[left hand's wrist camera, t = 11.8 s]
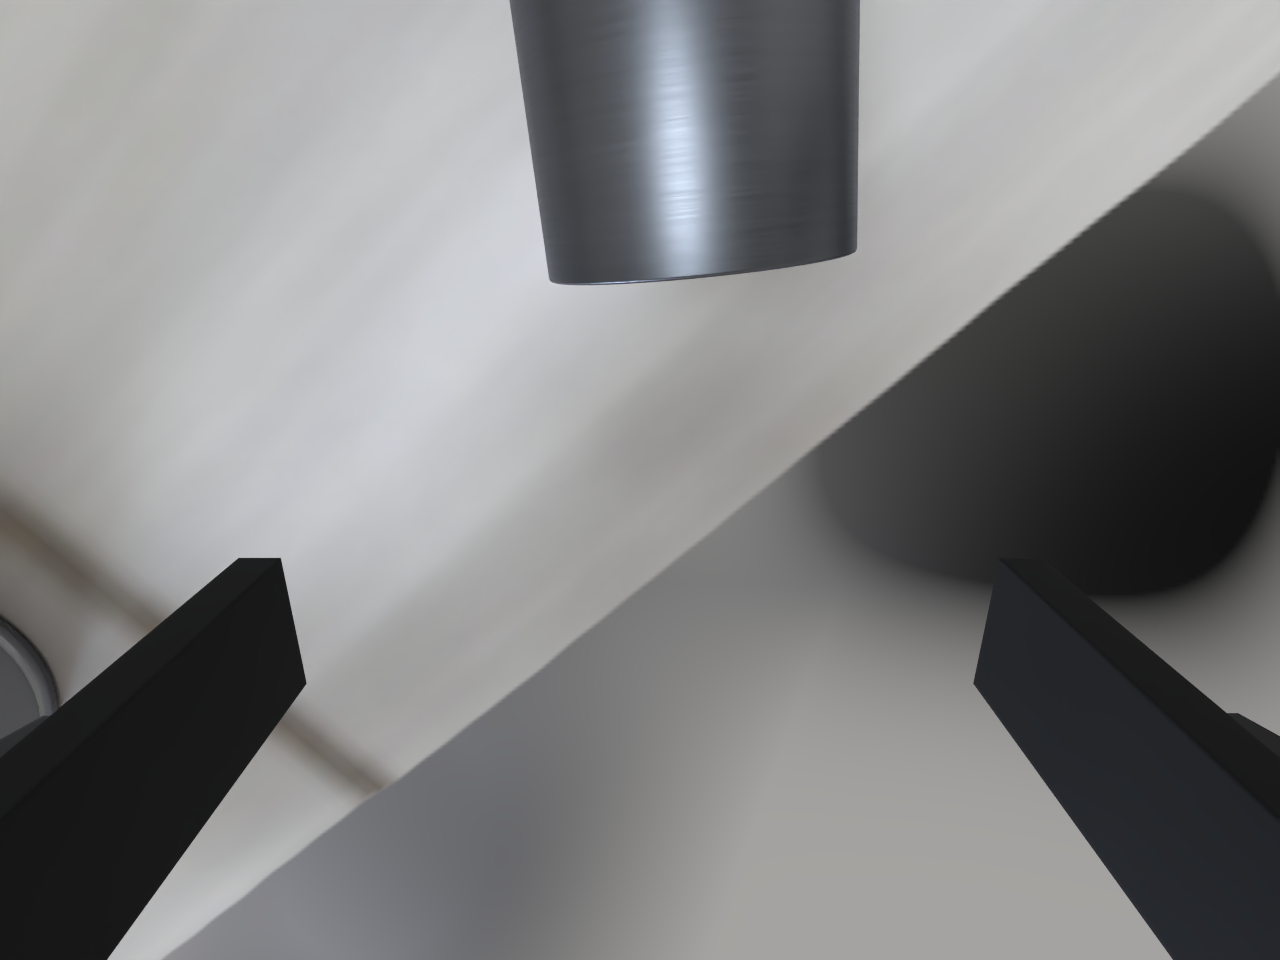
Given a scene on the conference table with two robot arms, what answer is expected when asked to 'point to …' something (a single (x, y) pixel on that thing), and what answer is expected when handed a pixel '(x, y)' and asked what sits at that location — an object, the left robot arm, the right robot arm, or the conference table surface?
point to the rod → (690, 134)
